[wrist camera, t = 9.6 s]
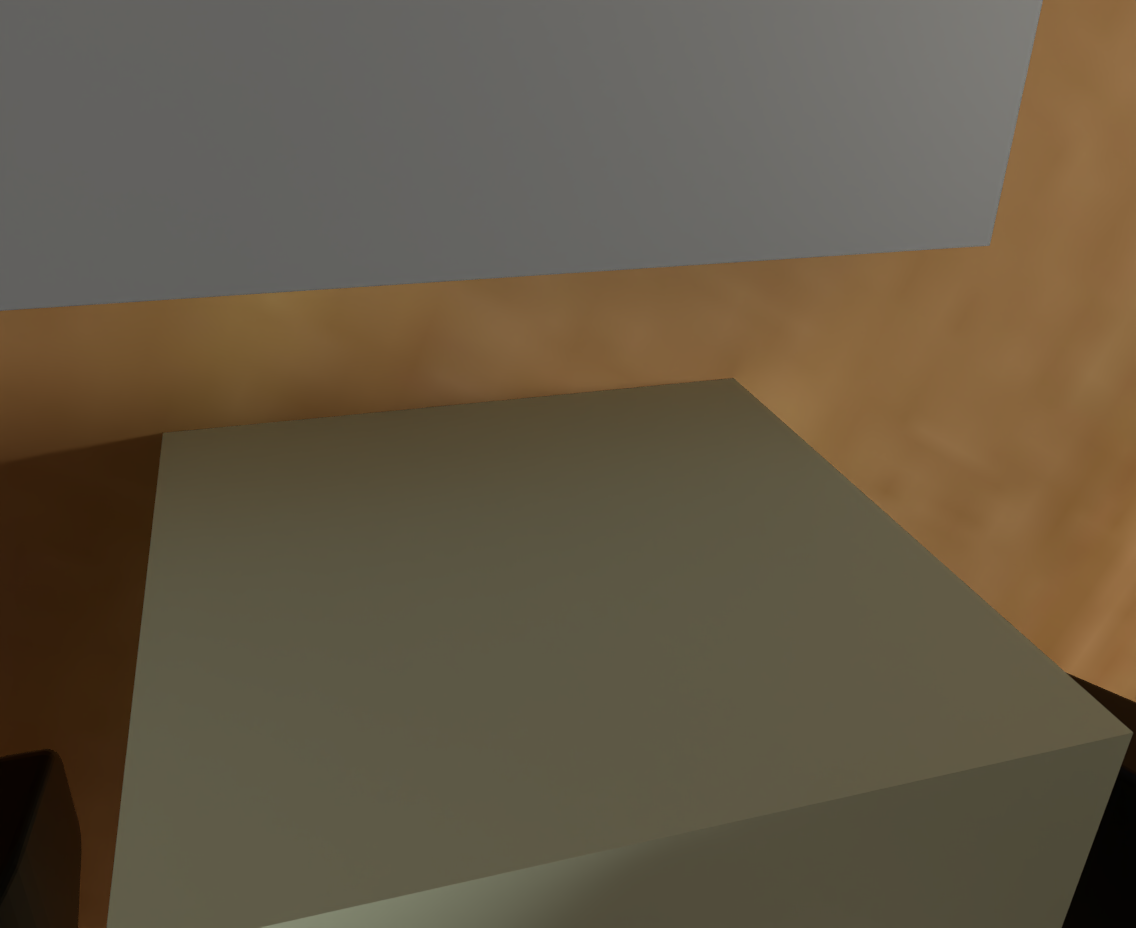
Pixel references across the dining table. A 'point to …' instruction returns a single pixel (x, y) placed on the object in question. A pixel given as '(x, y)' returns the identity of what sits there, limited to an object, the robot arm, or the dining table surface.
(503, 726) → the sage block
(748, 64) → the slate board
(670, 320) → the dining table surface
